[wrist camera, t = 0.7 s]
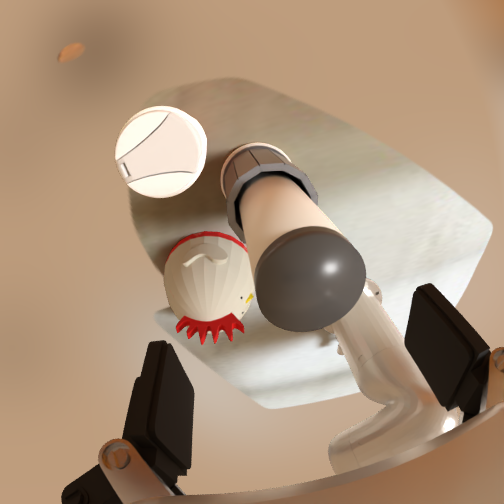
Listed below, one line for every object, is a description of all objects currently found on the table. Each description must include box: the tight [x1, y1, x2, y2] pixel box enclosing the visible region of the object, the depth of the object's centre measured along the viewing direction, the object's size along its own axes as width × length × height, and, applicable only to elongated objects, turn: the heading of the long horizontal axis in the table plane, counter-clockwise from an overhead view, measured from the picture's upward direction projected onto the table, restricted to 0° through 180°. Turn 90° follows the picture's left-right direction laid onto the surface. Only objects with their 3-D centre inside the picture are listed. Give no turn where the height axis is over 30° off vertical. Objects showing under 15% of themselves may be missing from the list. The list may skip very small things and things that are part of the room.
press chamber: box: [220, 142, 318, 244], centre depth 33 cm, size 10×10×12 cm
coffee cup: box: [115, 106, 207, 198], centre depth 28 cm, size 8×8×15 cm
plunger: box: [238, 171, 366, 332], centre depth 24 cm, size 6×6×17 cm
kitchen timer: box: [164, 231, 255, 345], centre depth 38 cm, size 14×14×15 cm
